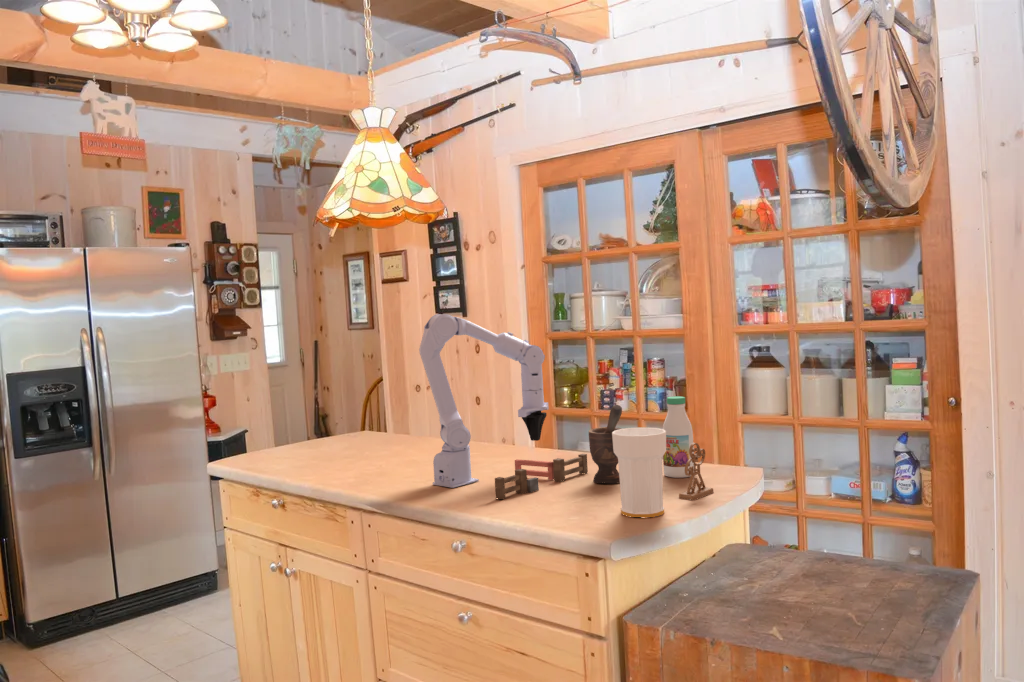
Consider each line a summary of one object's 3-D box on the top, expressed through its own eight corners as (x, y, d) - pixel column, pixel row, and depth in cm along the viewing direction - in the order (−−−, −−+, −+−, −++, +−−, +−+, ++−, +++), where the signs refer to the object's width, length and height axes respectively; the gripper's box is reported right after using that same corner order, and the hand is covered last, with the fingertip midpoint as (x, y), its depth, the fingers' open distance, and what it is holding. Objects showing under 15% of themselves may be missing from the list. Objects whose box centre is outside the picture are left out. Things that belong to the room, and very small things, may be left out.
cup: (642, 523, 162) (638, 437, 161) (604, 513, 171) (600, 432, 170) (681, 512, 169) (677, 430, 168) (642, 503, 178) (638, 425, 177)
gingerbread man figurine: (693, 500, 178) (691, 447, 177) (678, 498, 181) (676, 445, 180) (714, 492, 184) (712, 440, 184) (699, 490, 187) (697, 439, 186)
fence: (504, 500, 187) (503, 477, 186) (495, 499, 189) (493, 476, 188) (591, 473, 211) (590, 452, 211) (582, 472, 213) (581, 451, 213)
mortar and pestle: (641, 482, 198) (638, 402, 197) (618, 489, 192) (614, 406, 191) (607, 476, 207) (603, 399, 206) (583, 482, 201) (580, 403, 200)
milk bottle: (672, 470, 209) (669, 394, 208) (700, 473, 204) (696, 395, 203) (658, 476, 203) (654, 398, 202) (686, 479, 198) (682, 399, 197)
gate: (554, 478, 206) (553, 461, 206) (552, 479, 205) (551, 462, 205) (517, 475, 212) (517, 459, 212) (515, 476, 211) (514, 460, 211)
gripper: (534, 393, 205) (537, 445, 206) (557, 386, 218) (560, 435, 219) (509, 392, 208) (512, 444, 209) (534, 386, 221) (536, 435, 222)
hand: (535, 440), depth 214 cm, fingers closed
